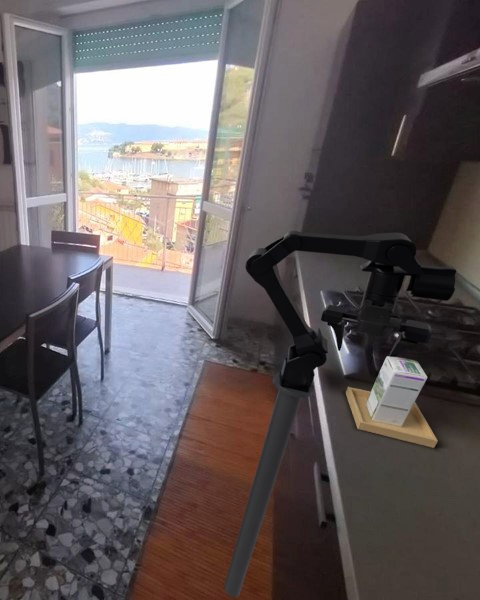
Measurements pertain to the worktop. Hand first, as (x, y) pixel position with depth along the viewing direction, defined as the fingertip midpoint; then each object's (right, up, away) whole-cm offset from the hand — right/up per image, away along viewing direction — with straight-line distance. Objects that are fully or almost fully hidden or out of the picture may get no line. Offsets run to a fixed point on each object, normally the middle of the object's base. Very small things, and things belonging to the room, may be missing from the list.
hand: (362, 356), depth 82 cm
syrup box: (+4, -14, -1) cm, 14 cm away
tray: (+5, -14, -1) cm, 15 cm away
